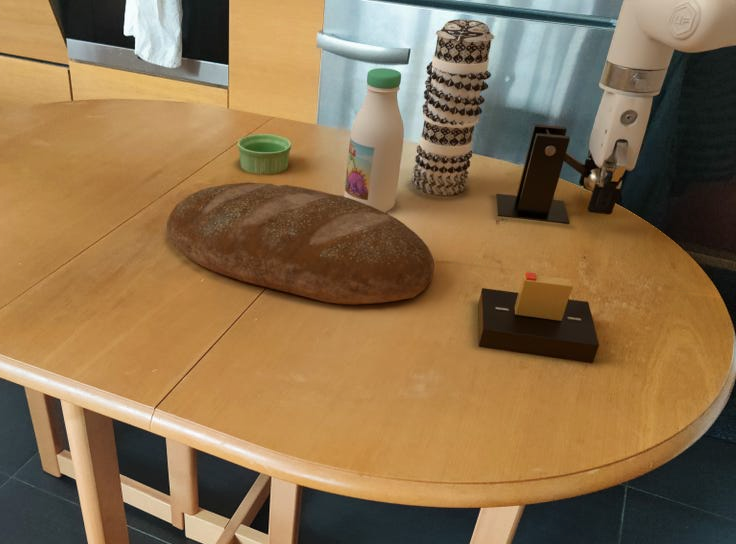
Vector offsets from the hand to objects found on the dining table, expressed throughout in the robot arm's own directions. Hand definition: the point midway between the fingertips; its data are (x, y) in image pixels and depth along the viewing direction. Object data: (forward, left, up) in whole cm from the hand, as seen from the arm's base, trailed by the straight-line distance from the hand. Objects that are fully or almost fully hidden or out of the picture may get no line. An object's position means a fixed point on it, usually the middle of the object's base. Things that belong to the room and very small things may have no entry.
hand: (594, 198), depth 105 cm
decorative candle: (+22, -5, -4) cm, 23 cm away
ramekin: (+51, -7, -4) cm, 52 cm away
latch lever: (+5, 0, +4) cm, 6 cm away
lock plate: (+10, +34, -4) cm, 36 cm away
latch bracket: (+8, 0, -4) cm, 9 cm away
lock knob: (+10, +34, -1) cm, 35 cm away
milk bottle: (+32, +4, -4) cm, 33 cm away
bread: (+40, +23, -4) cm, 46 cm away
